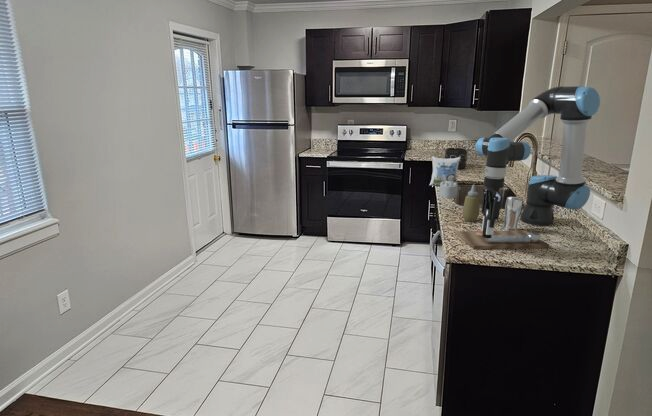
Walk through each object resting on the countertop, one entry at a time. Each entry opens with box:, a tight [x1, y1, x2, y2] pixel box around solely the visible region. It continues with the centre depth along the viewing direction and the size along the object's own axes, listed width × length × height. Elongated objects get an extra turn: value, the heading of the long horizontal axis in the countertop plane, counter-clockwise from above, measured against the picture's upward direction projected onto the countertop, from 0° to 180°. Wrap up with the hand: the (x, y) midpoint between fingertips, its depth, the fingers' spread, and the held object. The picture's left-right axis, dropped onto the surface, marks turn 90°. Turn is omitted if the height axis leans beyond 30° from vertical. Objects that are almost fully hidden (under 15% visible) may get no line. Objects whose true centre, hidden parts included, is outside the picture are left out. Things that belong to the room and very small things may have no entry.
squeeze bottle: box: [462, 184, 481, 223], centre depth 206 cm, size 8×8×18 cm
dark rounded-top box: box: [444, 147, 469, 171], centre depth 345 cm, size 18×18×16 cm
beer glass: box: [503, 196, 524, 231], centre depth 193 cm, size 7×7×15 cm
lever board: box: [456, 229, 550, 250], centre depth 181 cm, size 32×20×2 cm, turn 95°
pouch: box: [428, 156, 461, 186], centre depth 279 cm, size 8×19×20 cm, turn 86°
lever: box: [482, 208, 542, 243], centre depth 173 cm, size 24×5×14 cm, turn 93°
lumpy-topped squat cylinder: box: [438, 181, 459, 199], centre depth 255 cm, size 10×13×9 cm
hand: (487, 232), depth 173 cm, fingers closed on lever, 4 cm apart
